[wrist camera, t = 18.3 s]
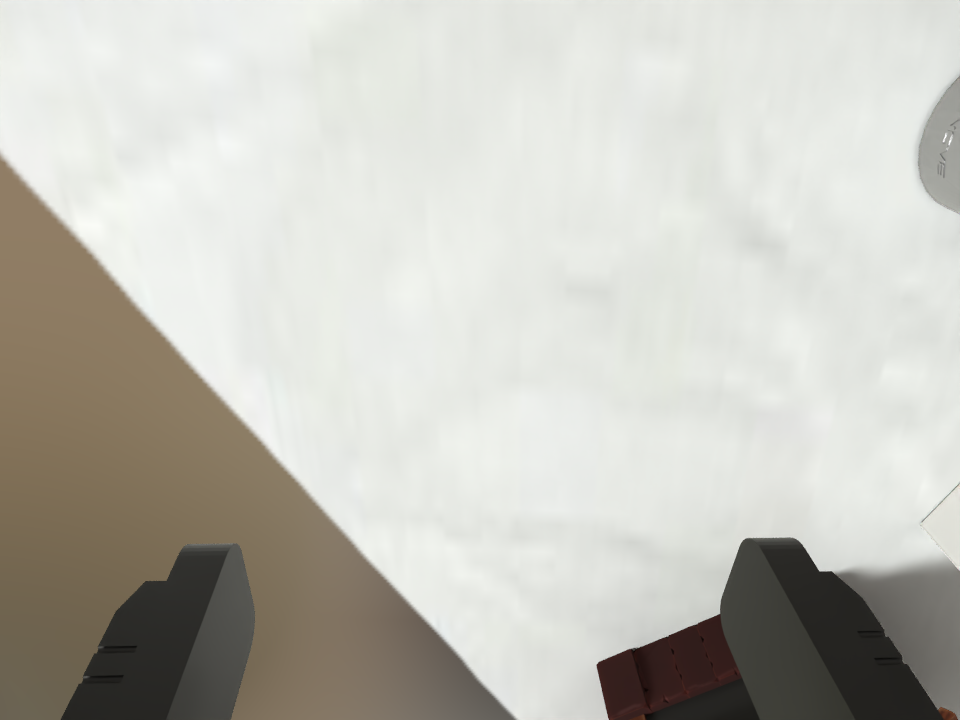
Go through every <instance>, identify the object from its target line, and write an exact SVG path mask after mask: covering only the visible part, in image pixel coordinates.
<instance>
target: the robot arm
mask: <svg viewBox="0 0 960 720" xmlns="http://www.w3.org/2000/svg"><path fill="white" fill-rule="evenodd" d="M918 166H919V173H920V179H921V181H922V183H923V185H924V187H925V190H926V192H927V193H928V194H929V195H930V196H931V197H932V198H933V199H934V200H935V201H936V202H937V203H939V204H941V205H942V206H944V207H946V208H948V209H950V210H952V211H954V212H956V213H958V214H960V77H959V78H958V79H957V80H956V81H955V82H954V83H953V84H952V85H951V87H950V88H949V89H948V90H947V91H946V92H945V94H944V95H943V97H942V98H941V100H940V101H939V102H938V104H937V105H936V107H935V108H934V110H933V112H932V114H931V116H930V118H929V120H928V122H927V124H926V126H925V129H924V132H923V136H922V139H921V143H920V146H919V158H918ZM720 615H721V623H722V628H723V632H724V636H725V638H726V641H727V643H728V646H729V648H730V650H731V653H732V655H733V657H734V660H735V662H736V664H737V667H738V669H739V672H740V674H741V676H742V679H743V681H744V683H745V686H746V688H747V690H748V693H749V695H750V697H751V700H752V702H753V704H754V707H755V709H756V711H757V714H758V716H759V719H760V720H944V719H943V717H942V716H941V714H940V713H939V711H938V710H937V708H936V707H935V705H934V704H933V702H932V701H931V699H930V698H929V696H928V695H927V693H926V692H925V690H924V689H923V687H922V686H921V684H920V683H919V681H918V680H917V678H916V677H915V675H914V674H913V673H912V671H911V670H910V668H909V667H908V665H907V664H904V663H903V662H902V656H901V655H900V653H899V652H898V650H897V649H896V647H895V646H894V644H893V643H892V641H891V640H890V638H889V637H885V635H884V629H883V628H882V626H881V625H880V623H879V622H878V620H877V619H876V617H875V616H874V614H873V613H872V612H871V610H870V609H869V607H868V606H867V604H866V603H865V601H864V600H863V598H862V597H860V596H859V595H858V594H857V593H856V592H855V591H854V590H852V589H851V588H850V587H849V586H848V585H847V584H846V583H844V582H843V581H842V580H841V579H840V578H839V577H838V576H836V575H835V574H834V573H833V572H832V571H828V572H819V570H818V569H817V567H816V565H815V564H814V562H813V561H812V559H811V557H810V556H809V554H808V553H807V551H806V549H805V548H804V547H803V545H802V544H801V543H800V542H799V541H798V540H796V539H794V538H747V539H745V540H743V542H742V543H741V545H740V547H739V550H738V553H737V556H736V559H735V561H734V564H733V567H732V570H731V573H730V576H729V578H728V581H727V584H726V587H725V590H724V593H723V596H722V599H721V606H720ZM254 623H255V611H254V604H253V599H252V595H251V591H250V586H249V582H248V577H247V573H246V569H245V564H244V560H243V556H242V552H241V548H240V546H239V545H238V544H187V545H186V546H184V547H183V548H182V550H181V552H180V553H179V555H178V557H177V559H176V561H175V564H174V566H173V568H172V570H171V572H170V575H169V577H168V579H167V581H146V582H145V583H143V585H142V586H140V588H139V589H138V590H137V591H136V592H135V593H134V594H133V595H132V596H131V597H130V598H129V599H128V600H127V601H126V602H125V603H124V604H123V605H122V606H121V607H120V608H119V609H118V610H117V611H116V613H115V614H114V616H113V618H112V620H111V622H110V624H109V626H108V628H107V630H106V632H105V634H104V636H103V638H102V640H101V642H100V644H99V646H98V652H97V654H94V655H93V657H92V659H91V662H90V663H89V665H88V667H87V669H86V671H85V673H84V675H83V682H82V683H81V684H79V685H78V687H77V689H76V691H75V693H74V695H73V697H72V699H71V700H70V702H69V704H68V706H67V708H66V710H65V712H64V714H63V716H62V718H61V720H230V719H231V717H232V713H233V709H234V706H235V702H236V699H237V695H238V692H239V688H240V685H241V681H242V678H243V674H244V671H245V667H246V664H247V660H248V656H249V653H250V649H251V645H252V640H253V634H254Z"/></svg>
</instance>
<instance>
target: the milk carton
mask: <svg viewBox="0 0 960 720" xmlns="http://www.w3.org/2000/svg"><path fill="white" fill-rule="evenodd" d="M920 526H921V527H922V528H923V529H924V530H925V532H926V533H927V534H928V535H929V536H930V537H931V539H932V540H933V541H934V542H935V543H936V544H937V545H938V547H939V548H940V549H941V550H942V551H943V552H944V554H945V555H946V556H947V557H948V558H949V559H950V560H951V562H952V563H953V564H954V565H955V566H956V567H957V569H958V570H959V571H960V484H959V485H958V486H957V487H956V488H955V489H954V490H953V491H952V492H951V493H950V494H949V495H948V496H947V497H946V498H945V499H944V500H943V501H942V502H941V503H940V504H939V505H938V506H937V508H936V509H935V510H934V511H933V512H932V513H931V514H930V515H929V516H928V517H927V518H926V519H925V520H924V521H923V522H922V523H921V524H920Z"/></svg>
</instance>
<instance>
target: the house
mask: <svg viewBox="0 0 960 720" xmlns="http://www.w3.org/2000/svg"><path fill="white" fill-rule="evenodd" d="M597 670H598V674H599V679H600V683H601V688H602V692H603V697H604V701H605V705H606V710H607V714H608V718H609V720H760V719H759V716H758V714H757V711H756V709H755V707H754V704H753V702H752V700H751V697H750V695H749V693H748V690H747V688H746V686H745V683H744V681H743V679H742V676H741V674H740V672H739V669H738V667H737V664H736V662H735V660H734V657H733V655H732V653H731V650H730V648H729V646H728V643H727V641H726V638H725V636H724V632H723V628H722V623H721V615H720V614H719V615H717V616H714V617H712V618H709V619H707V620H705V621H702V622H700V623H698V625H697V626H696V625H694V626H690V627H688V628H686V629H683V630H681V631H678V632H676V633H674V634H671V635H669V637H668V638H667V637H666V638H662V639H659V640H657V641H655V642H652V643H650V644H648V645H645V646H643V647H640V648H638V649H636V650H635V652H633V651H632V650H631V649H629V650H626V651H624V652H622V653H619V654H617V655H615V656H612V657H610V658H607V659H605V660H603V661H600V662H599V663H598V664H597ZM938 711H939V713H940V714H941V716H942V717H943V719H944V720H958V719H957V717H956V714H955V713H953V712H951V711H949V710H947V709H944V708H942V707H940V708H939V710H938Z"/></svg>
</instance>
